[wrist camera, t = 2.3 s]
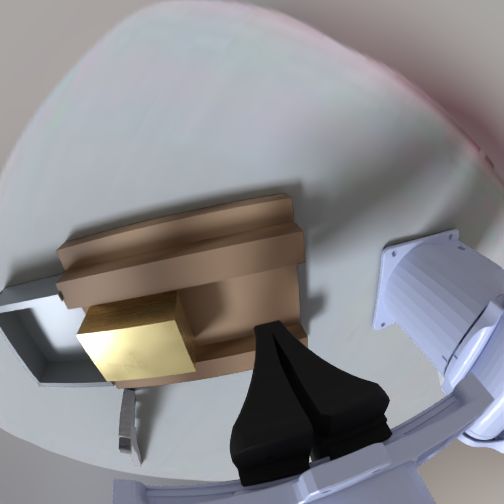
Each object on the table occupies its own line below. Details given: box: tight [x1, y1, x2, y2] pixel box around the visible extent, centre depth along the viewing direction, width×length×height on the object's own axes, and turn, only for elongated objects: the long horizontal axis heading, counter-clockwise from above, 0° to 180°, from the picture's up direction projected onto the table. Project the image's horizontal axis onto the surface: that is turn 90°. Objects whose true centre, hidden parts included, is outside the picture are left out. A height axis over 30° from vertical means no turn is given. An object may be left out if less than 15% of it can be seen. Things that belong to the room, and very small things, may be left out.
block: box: [77, 289, 196, 381], centre depth 15 cm, size 6×4×3 cm, turn 98°
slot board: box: [55, 193, 308, 389], centre depth 16 cm, size 14×12×3 cm
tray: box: [0, 274, 114, 387], centre depth 15 cm, size 8×8×3 cm
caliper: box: [119, 389, 142, 467], centre depth 21 cm, size 20×1×6 cm, turn 164°
